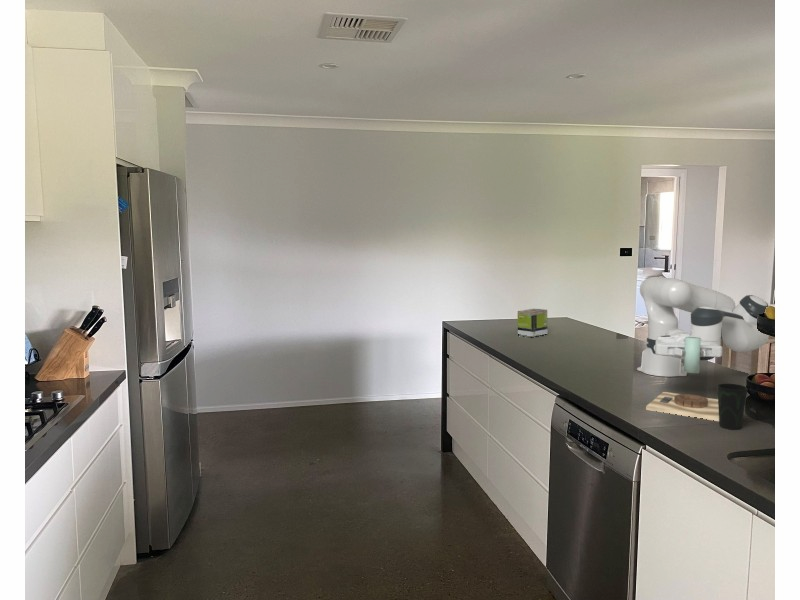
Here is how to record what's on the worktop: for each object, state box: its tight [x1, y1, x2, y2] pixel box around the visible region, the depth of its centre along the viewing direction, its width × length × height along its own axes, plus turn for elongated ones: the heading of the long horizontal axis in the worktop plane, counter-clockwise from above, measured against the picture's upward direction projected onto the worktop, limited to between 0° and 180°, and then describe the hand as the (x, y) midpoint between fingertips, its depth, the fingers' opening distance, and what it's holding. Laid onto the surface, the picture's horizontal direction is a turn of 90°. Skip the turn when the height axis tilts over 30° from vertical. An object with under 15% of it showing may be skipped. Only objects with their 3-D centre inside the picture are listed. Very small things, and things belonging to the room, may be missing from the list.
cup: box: [717, 382, 748, 431], centre depth 173 cm, size 8×8×12 cm
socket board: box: [645, 391, 719, 422], centre depth 193 cm, size 22×22×3 cm
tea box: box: [517, 308, 549, 336], centre depth 335 cm, size 15×10×15 cm, turn 130°
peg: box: [683, 337, 701, 374], centre depth 192 cm, size 4×4×11 cm
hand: (692, 353), depth 191 cm, fingers closed on peg, 4 cm apart
